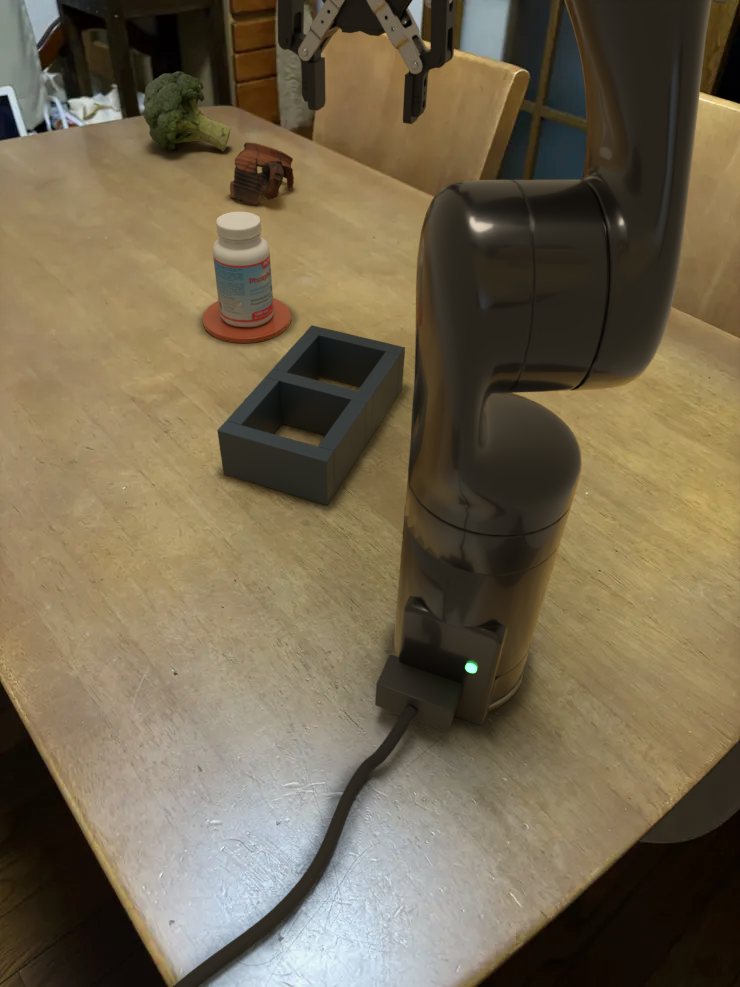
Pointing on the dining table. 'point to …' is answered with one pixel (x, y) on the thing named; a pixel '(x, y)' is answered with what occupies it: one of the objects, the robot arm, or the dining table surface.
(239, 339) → the coaster
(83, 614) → the dining table surface
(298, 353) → the bottle holder
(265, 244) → the pill bottle
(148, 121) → the vegetable
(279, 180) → the pottery mug
